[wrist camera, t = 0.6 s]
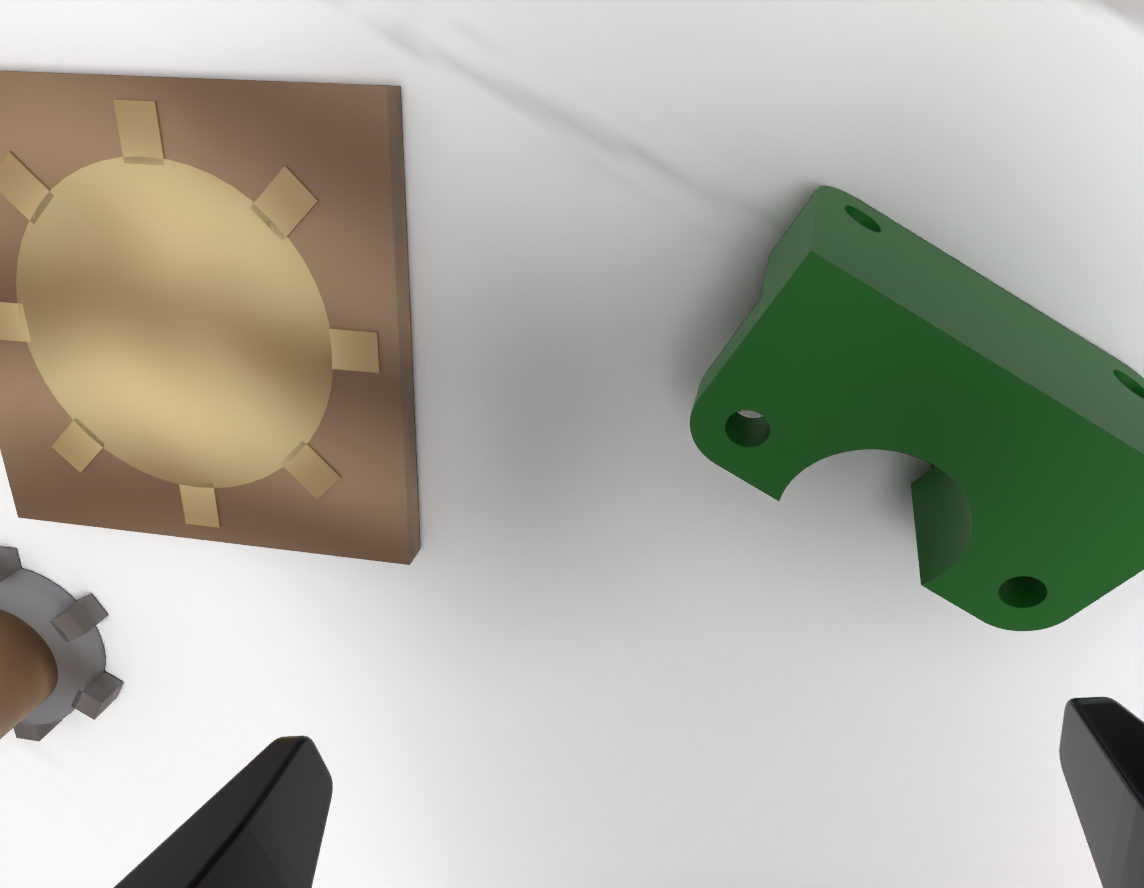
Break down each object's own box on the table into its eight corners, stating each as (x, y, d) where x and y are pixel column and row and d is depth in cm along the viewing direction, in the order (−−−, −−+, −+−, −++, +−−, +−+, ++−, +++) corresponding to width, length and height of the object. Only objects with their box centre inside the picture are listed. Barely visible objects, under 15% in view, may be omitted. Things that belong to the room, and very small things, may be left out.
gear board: (420, 549, 26) (408, 566, 25) (40, 504, 28) (16, 518, 27) (400, 86, 21) (384, 85, 20) (-68, 69, 23) (-104, 66, 22)
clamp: (763, 323, 26) (622, 391, 20) (876, 175, 23) (750, 200, 16) (1051, 571, 23) (992, 742, 17) (1230, 444, 20) (1241, 600, 13)
